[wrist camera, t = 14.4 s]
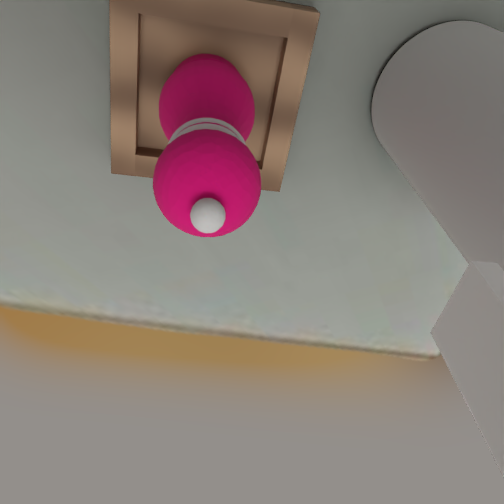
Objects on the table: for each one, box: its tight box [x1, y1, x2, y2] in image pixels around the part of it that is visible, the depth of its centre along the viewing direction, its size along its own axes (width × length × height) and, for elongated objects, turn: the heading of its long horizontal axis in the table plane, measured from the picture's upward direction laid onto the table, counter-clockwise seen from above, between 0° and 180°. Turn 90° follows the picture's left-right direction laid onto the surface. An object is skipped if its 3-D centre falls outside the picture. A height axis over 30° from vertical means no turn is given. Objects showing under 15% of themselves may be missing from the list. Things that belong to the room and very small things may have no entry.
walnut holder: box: [109, 0, 320, 192], centre depth 38 cm, size 15×15×2 cm
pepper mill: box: [153, 54, 261, 237], centre depth 31 cm, size 7×7×20 cm
